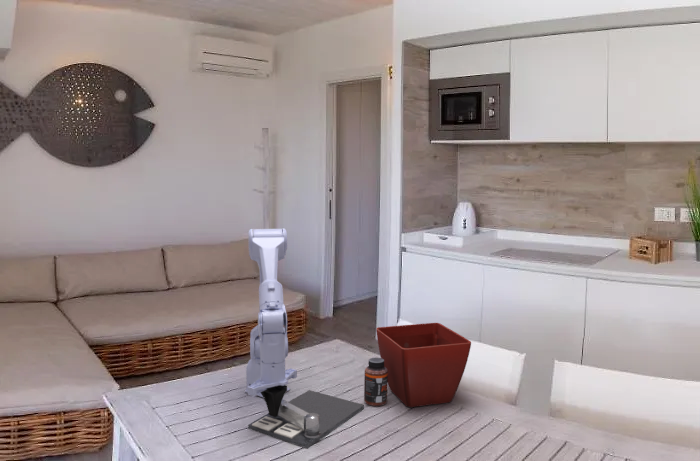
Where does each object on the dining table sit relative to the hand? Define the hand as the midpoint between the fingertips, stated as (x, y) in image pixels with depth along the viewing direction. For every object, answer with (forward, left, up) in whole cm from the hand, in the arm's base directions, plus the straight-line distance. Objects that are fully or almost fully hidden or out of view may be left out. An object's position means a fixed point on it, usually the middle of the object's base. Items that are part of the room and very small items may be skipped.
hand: (273, 415), depth 139 cm
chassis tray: (+5, +7, -2) cm, 9 cm away
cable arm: (+3, +2, 0) cm, 4 cm away
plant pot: (+22, +34, -2) cm, 41 cm away
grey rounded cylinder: (+12, -1, -2) cm, 12 cm away
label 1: (0, -2, -2) cm, 3 cm away
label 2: (+6, -2, -2) cm, 7 cm away
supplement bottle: (+14, +24, -2) cm, 28 cm away
